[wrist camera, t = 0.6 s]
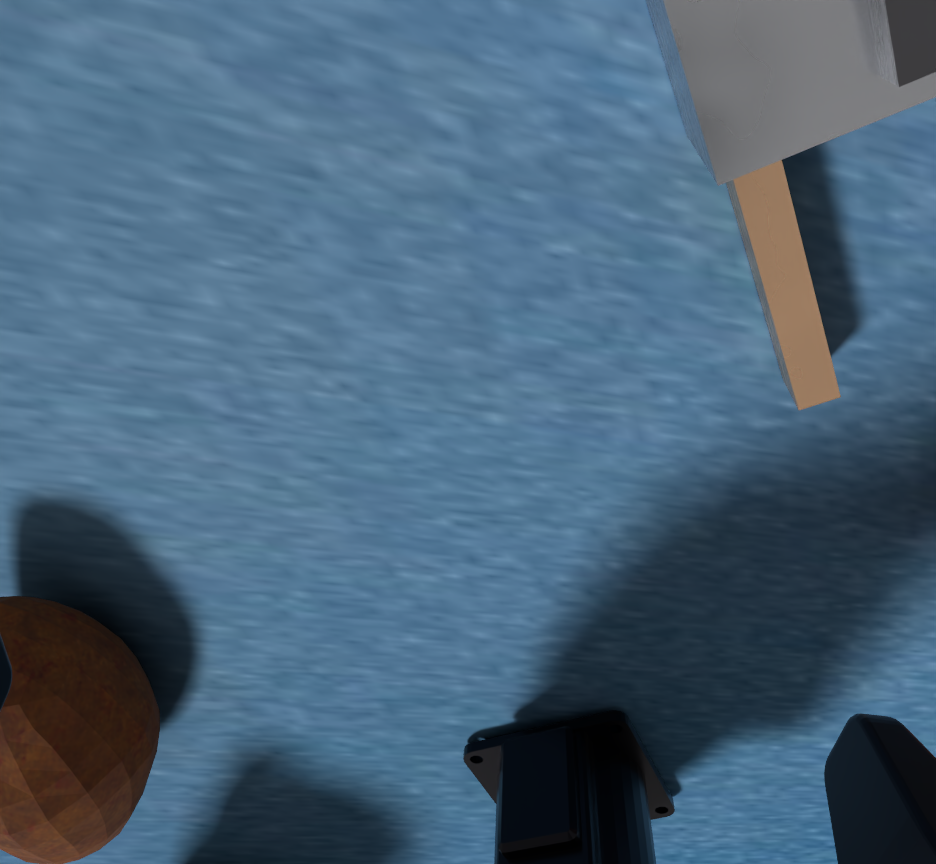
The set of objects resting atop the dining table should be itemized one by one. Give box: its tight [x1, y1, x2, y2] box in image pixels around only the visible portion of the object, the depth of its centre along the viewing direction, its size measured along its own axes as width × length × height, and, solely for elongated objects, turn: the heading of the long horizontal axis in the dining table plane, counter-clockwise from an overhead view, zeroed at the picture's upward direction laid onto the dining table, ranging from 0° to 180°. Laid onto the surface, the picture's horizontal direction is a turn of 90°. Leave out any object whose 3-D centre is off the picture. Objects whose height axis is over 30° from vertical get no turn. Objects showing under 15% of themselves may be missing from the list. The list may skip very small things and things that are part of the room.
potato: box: [0, 596, 160, 864], centre depth 27 cm, size 6×12×6 cm, turn 6°
